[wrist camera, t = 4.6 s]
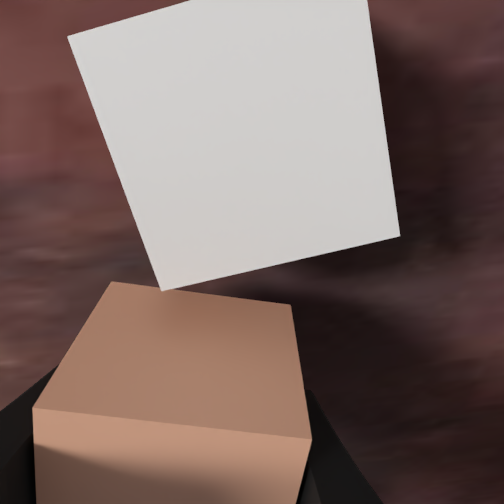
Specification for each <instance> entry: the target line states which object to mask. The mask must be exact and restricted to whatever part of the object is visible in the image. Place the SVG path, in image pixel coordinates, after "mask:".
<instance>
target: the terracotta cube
mask: <svg viewBox="0 0 504 504" xmlns="http://www.w3.org/2000/svg"><path fill="white" fill-rule="evenodd" d="M32 410H33V434H34V458H35V482H36V504H296V500H297V496H298V492H299V488H300V485H301V481H302V477H303V473H304V469H305V465H306V461H307V457H308V453H309V450H310V446H311V442H312V436H311V430H310V423H309V417H308V411H307V404H306V398H305V392H304V386H303V379H302V373H301V367H300V361H299V354H298V348H297V342H296V335H295V329H294V323H293V317H292V310H291V305H288V304H280V303H273V302H265V301H257V300H250V299H242V298H234V297H227V296H219V295H211V294H204V293H196V292H188V291H181V290H173V289H169V290H165V291H161V289H160V288H157V287H150V286H142V285H134V284H127V283H119V282H111V283H110V284H109V286H108V288H107V289H106V291H105V292H104V294H103V296H102V297H101V299H100V300H99V302H98V304H97V305H96V307H95V308H94V310H93V312H92V313H91V315H90V316H89V318H88V320H87V321H86V323H85V324H84V326H83V328H82V329H81V331H80V332H79V334H78V336H77V337H76V339H75V340H74V342H73V344H72V345H71V347H70V348H69V350H68V352H67V353H66V355H65V356H64V358H63V360H62V361H61V363H60V364H59V366H58V368H57V369H56V371H55V372H54V374H53V376H52V377H51V379H50V380H49V382H48V384H47V385H46V387H45V388H44V390H43V392H42V393H41V395H40V396H39V398H38V400H37V401H36V403H35V404H34V406H33V408H32Z"/></svg>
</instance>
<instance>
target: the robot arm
mask: <svg viewBox="0 0 504 504" xmlns="http://www.w3.org/2000/svg"><path fill="white" fill-rule="evenodd" d="M58 366H59V365H58ZM58 366H56V367H55V368H54V369H53V370H51V371H50V372H49V373H48V374H46V375H45V376H44V377H43V378H42V379H40V380H39V381H38V382H37V383H35V384H34V385H33V386H32V387H30V388H29V389H28V390H27V391H25V392H24V393H23V394H22V395H20V396H19V397H18V398H17V399H15V400H14V401H13V402H11V403H10V404H9V405H8V406H6V407H5V408H4V409H2V410H1V411H0V504H36V482H35V458H34V434H33V410H32V408H33V406H34V404H35V403H36V401H37V400H38V398H39V396H40V395H41V393H42V392H43V390H44V388H45V387H46V385H47V384H48V382H49V380H50V379H51V377H52V376H53V374H54V372H55V371H56V369H57V368H58ZM304 392H305V398H306V404H307V411H308V417H309V423H310V430H311V436H312V442H311V446H310V450H309V453H308V457H307V461H306V465H305V469H304V473H303V477H302V481H301V485H300V488H299V492H298V496H297V500H296V504H383V503H382V501H381V500H380V499H379V497H378V496H377V494H376V493H375V492H374V490H373V489H372V488H371V486H370V485H369V483H368V482H367V481H366V479H365V478H364V476H363V475H362V473H361V472H360V470H359V469H358V467H357V466H356V464H355V463H354V461H353V460H352V458H351V457H350V455H349V454H348V452H347V451H346V449H345V447H344V446H343V444H342V443H341V441H340V439H339V438H338V436H337V435H336V433H335V431H334V429H333V428H332V426H331V424H330V423H329V421H328V419H327V417H326V416H325V414H324V412H323V410H322V409H321V407H320V405H319V403H318V401H317V399H316V398H315V396H314V394H313V393H312V392H311V390H304Z"/></svg>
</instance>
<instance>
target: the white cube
mask: <svg viewBox="0 0 504 504" xmlns="http://www.w3.org/2000/svg"><path fill="white" fill-rule="evenodd" d="M67 37H68V40H69V43H70V46H71V48H72V51H73V54H74V56H75V59H76V62H77V64H78V67H79V70H80V73H81V75H82V78H83V81H84V83H85V86H86V89H87V91H88V94H89V97H90V100H91V102H92V105H93V108H94V110H95V113H96V116H97V118H98V121H99V124H100V127H101V129H102V132H103V135H104V137H105V140H106V143H107V145H108V148H109V151H110V154H111V156H112V159H113V162H114V164H115V167H116V170H117V172H118V175H119V178H120V181H121V183H122V186H123V189H124V191H125V194H126V197H127V199H128V202H129V205H130V208H131V210H132V213H133V216H134V218H135V221H136V224H137V226H138V229H139V232H140V235H141V237H142V240H143V243H144V245H145V248H146V251H147V254H148V256H149V259H150V262H151V264H152V267H153V270H154V272H155V275H156V278H157V281H158V283H159V286H160V289H161V291H165V290H169V289H174V288H178V287H182V286H187V285H191V284H195V283H200V282H204V281H208V280H213V279H217V278H221V277H226V276H230V275H234V274H239V273H243V272H247V271H252V270H256V269H260V268H265V267H269V266H273V265H278V264H282V263H286V262H291V261H295V260H299V259H304V258H308V257H312V256H317V255H321V254H325V253H330V252H334V251H338V250H343V249H347V248H351V247H356V246H360V245H364V244H369V243H373V242H377V241H382V240H386V239H390V238H395V237H399V236H400V231H399V224H398V217H397V210H396V203H395V196H394V188H393V181H392V174H391V167H390V160H389V153H388V146H387V139H386V132H385V125H384V118H383V110H382V103H381V96H380V89H379V82H378V75H377V68H376V61H375V54H374V47H373V39H372V32H371V25H370V18H369V11H368V4H367V0H190V1H187V2H183V3H180V4H176V5H173V6H170V7H166V8H163V9H159V10H156V11H153V12H149V13H146V14H142V15H139V16H135V17H132V18H129V19H125V20H122V21H118V22H115V23H111V24H108V25H105V26H101V27H98V28H94V29H91V30H87V31H84V32H81V33H77V34H74V35H70V36H67Z"/></svg>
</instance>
